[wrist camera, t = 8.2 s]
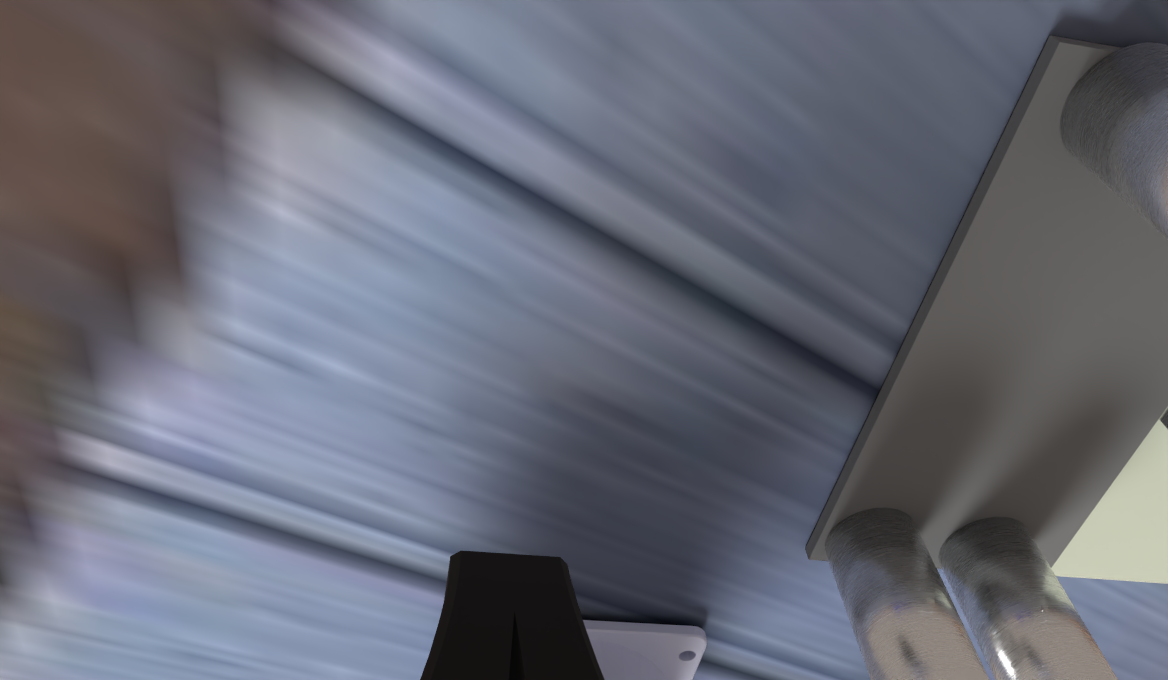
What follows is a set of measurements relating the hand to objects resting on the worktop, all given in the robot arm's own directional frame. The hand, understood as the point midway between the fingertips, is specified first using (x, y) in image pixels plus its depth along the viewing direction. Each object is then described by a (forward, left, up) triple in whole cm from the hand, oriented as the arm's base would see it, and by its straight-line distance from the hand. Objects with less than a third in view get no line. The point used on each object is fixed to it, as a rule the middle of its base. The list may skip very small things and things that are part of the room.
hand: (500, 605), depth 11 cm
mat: (-2, -16, -10) cm, 19 cm away
